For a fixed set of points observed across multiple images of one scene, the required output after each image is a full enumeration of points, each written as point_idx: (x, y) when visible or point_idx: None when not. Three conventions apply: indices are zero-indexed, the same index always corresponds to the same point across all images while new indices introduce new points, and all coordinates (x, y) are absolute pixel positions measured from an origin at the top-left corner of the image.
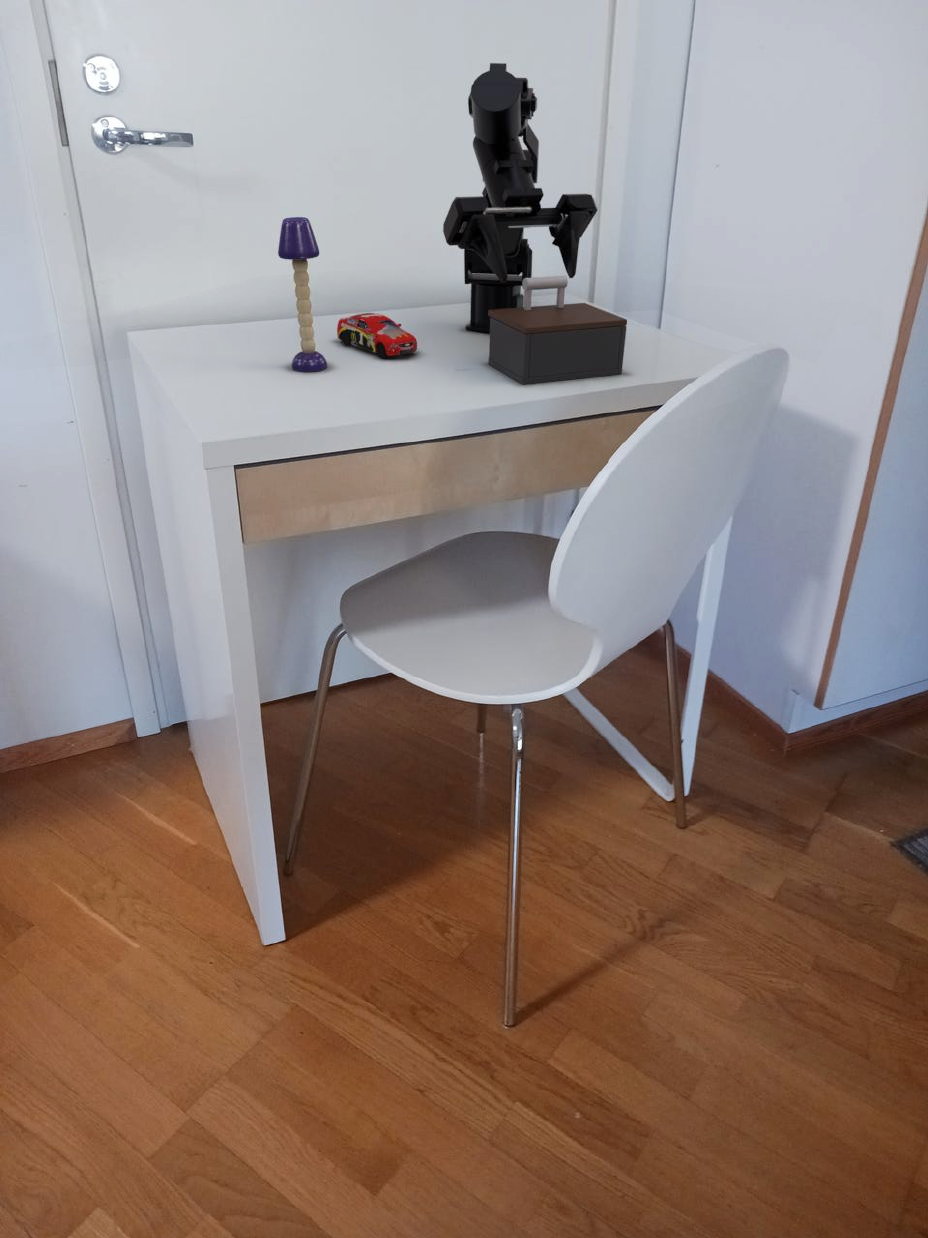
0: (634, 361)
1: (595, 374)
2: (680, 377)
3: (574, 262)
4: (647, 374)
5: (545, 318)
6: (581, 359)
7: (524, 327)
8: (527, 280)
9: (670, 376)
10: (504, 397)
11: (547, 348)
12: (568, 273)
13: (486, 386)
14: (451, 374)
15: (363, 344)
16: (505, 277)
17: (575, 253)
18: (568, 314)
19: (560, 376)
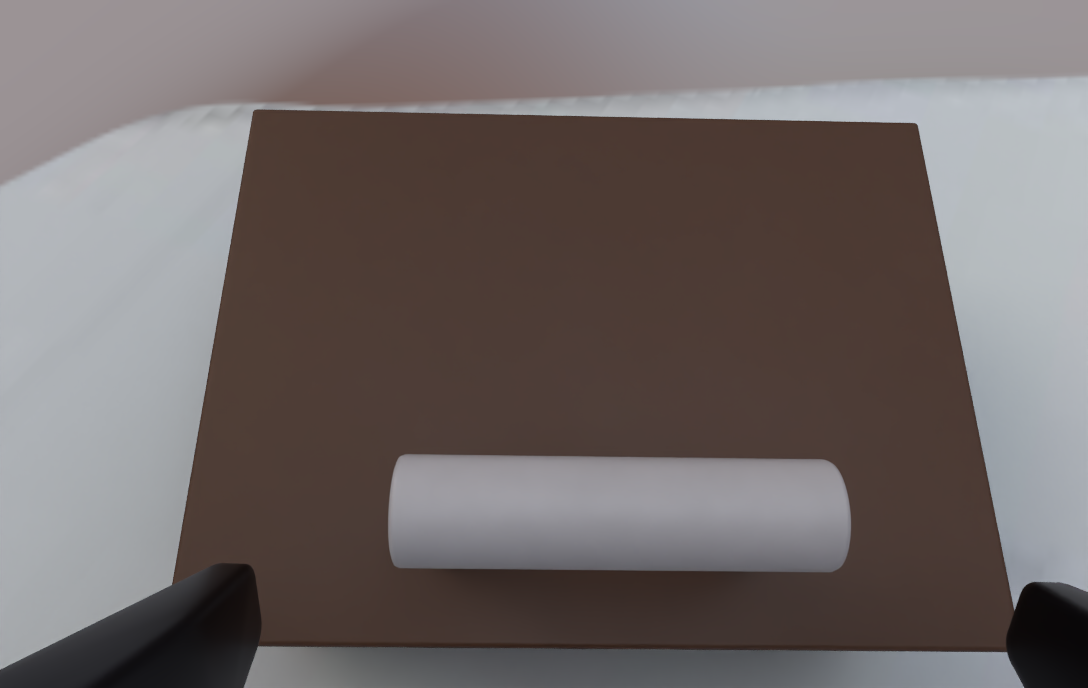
0: (117, 421)
1: None
2: (132, 146)
3: (168, 602)
4: (225, 223)
5: (717, 272)
6: None
7: (919, 138)
8: (831, 471)
9: (159, 170)
10: (934, 156)
11: None
12: (246, 666)
13: (965, 297)
14: (1083, 517)
15: None
16: (1050, 582)
17: (72, 653)
18: (516, 324)
19: None
